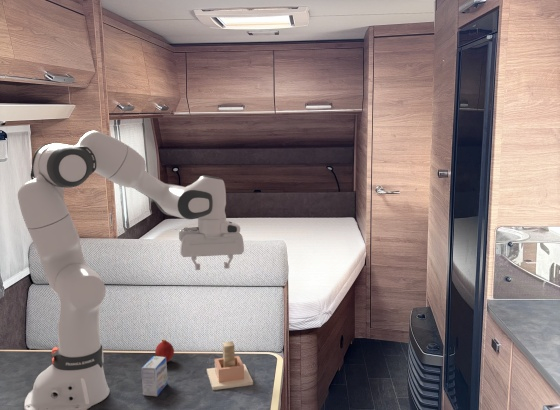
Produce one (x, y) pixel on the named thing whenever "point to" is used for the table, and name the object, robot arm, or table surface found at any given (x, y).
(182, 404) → the table surface
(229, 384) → the stepped square socket
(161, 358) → the medicine box
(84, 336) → the robot arm
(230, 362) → the tall tan block
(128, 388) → the table surface
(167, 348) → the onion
